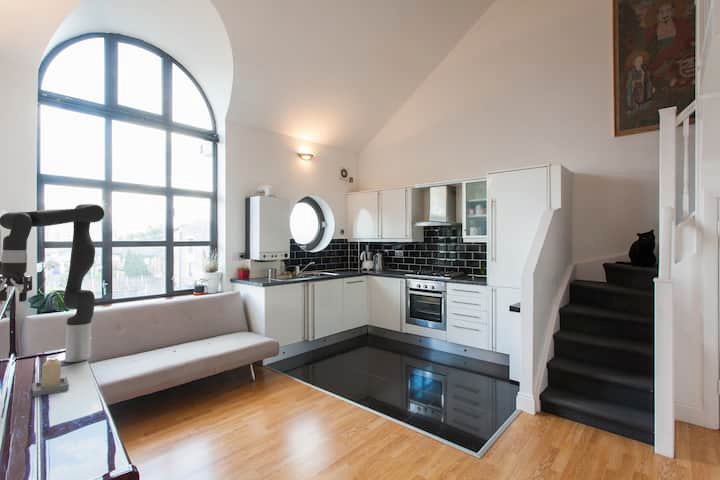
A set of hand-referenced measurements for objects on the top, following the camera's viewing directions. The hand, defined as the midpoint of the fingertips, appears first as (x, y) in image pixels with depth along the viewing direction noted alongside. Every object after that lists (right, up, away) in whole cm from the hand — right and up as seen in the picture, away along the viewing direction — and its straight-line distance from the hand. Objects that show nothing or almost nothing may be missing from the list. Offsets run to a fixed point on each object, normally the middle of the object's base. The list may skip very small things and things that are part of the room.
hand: (12, 301), depth 144 cm
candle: (+23, -31, -9) cm, 40 cm away
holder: (+23, -32, -9) cm, 41 cm away
